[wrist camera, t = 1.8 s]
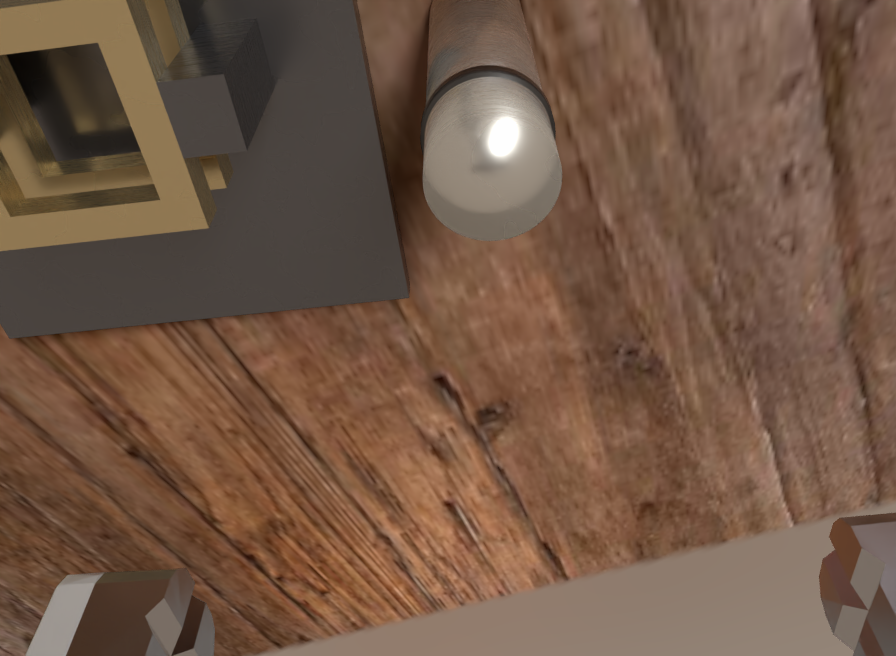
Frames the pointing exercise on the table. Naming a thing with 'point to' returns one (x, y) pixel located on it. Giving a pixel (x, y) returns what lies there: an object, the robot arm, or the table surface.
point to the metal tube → (486, 123)
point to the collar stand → (188, 163)
